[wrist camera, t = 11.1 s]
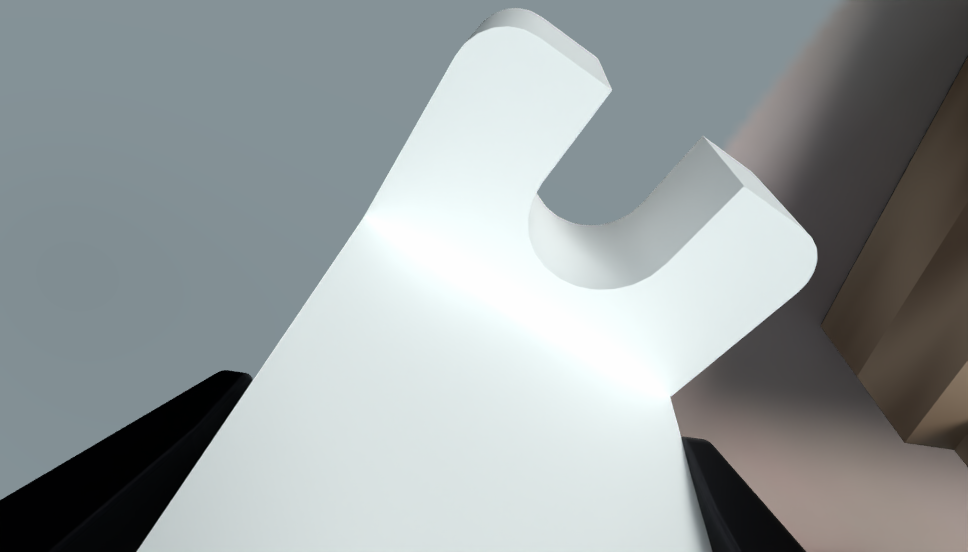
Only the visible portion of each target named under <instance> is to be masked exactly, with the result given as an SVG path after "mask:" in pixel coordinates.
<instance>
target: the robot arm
mask: <svg viewBox="0 0 968 552" xmlns="http://www.w3.org/2000/svg"><path fill="white" fill-rule="evenodd" d="M252 381H253V380H252V377H251V376H250V375H249V374H247V373H242V372H234V371H228V370H224V371H220V372H218V373H216V374H214V375H212V376H211V377H209V378H207V379H206V380H204V381H202V382H200V383H199V384H197V385H195V386H194V387H192V388H190V389H189V390H187V391H185V392H183V393H182V394H180V395H179V396H177V397H175V398H173V399H172V400H170V401H168V402H166V403H165V404H163V405H161V406H160V407H158V408H156V409H155V410H153V411H151V412H149V413H148V414H146V415H144V416H143V417H141V418H139V419H138V420H136V421H134V422H132V423H131V424H129V425H127V426H126V427H124V428H122V429H121V430H119V431H117V432H115V433H114V434H112V435H110V436H109V437H107V438H105V439H104V440H102V441H100V442H99V443H97V444H95V445H93V446H92V447H90V448H88V449H87V450H85V451H83V452H81V453H80V454H78V455H76V456H75V457H73V458H71V459H70V460H68V461H66V462H64V463H63V464H61V465H59V466H58V467H56V468H54V469H53V470H51V471H49V472H47V473H46V474H44V475H42V476H41V477H39V478H37V479H35V480H34V481H32V482H30V483H29V484H27V485H25V486H24V487H22V488H20V489H19V490H17V491H15V492H13V493H12V494H10V495H8V496H7V497H5V498H3V499H1V500H0V552H137V550H138V549H139V548H140V546H141V545H142V543H143V542H144V540H145V539H146V537H147V536H148V534H149V533H150V531H151V530H152V528H153V527H154V525H155V524H156V522H157V521H158V519H159V518H160V517H161V515H162V514H163V512H164V511H165V509H166V508H167V506H168V505H169V503H170V502H171V500H172V499H173V497H174V496H175V494H176V493H177V491H178V490H179V489H180V487H181V486H182V484H183V483H184V481H185V480H186V478H187V477H188V475H189V474H190V472H191V471H192V469H193V468H194V466H195V465H196V463H197V462H198V461H199V459H200V458H201V456H202V455H203V453H204V452H205V450H206V449H207V447H208V446H209V444H210V443H211V441H212V440H213V438H214V437H215V435H216V434H217V432H218V431H219V430H220V428H221V427H222V425H223V424H224V422H225V421H226V419H227V418H228V416H229V415H230V413H231V412H232V410H233V409H234V407H235V406H236V404H237V403H238V402H239V400H240V399H241V397H242V396H243V394H244V393H245V391H246V390H247V388H248V387H249V385H250V384H251V382H252ZM681 439H682V443H683V447H684V451H685V455H686V459H687V462H688V466H689V470H690V473H691V477H692V481H693V484H694V488H695V492H696V495H697V499H698V503H699V507H700V510H701V514H702V517H703V520H704V524H705V527H706V530H707V534H708V538H709V541H710V545H711V549H712V552H806V551H805V550H804V549H803V548H802V546H801V545H800V544H799V543H798V542H797V541H796V540H795V538H794V537H793V536H792V535H791V534H790V533H789V532H788V530H787V529H786V528H785V527H784V526H783V525H782V524H781V522H780V521H779V520H778V519H777V518H776V517H775V516H774V514H773V513H772V512H771V511H770V510H769V509H768V508H767V506H766V505H765V504H764V503H763V502H762V501H761V500H760V498H759V497H758V496H757V495H756V494H755V493H754V492H753V490H752V489H751V488H750V487H749V486H748V485H747V484H746V482H745V481H744V480H743V479H742V478H741V477H740V476H739V474H738V473H737V472H736V471H735V470H734V469H733V468H732V466H731V465H730V464H729V463H728V462H727V461H726V460H725V458H724V457H723V456H722V455H721V454H720V453H719V452H718V450H717V449H716V448H715V447H714V446H713V445H712V444H711V443H710V442H708V441H707V440H704V439H697V438H690V437H681Z"/></svg>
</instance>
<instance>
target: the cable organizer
mask: <svg viewBox="0 0 968 552" xmlns="http://www.w3.org/2000/svg"><path fill="white" fill-rule="evenodd" d="M611 91H612V89H611V86H610V84H609V82H608V80H607V78H606V75H605V73H604V71H603V69H602V66H601V64H600V62H599V60H598V58H597V57H595V56H594V55H593V54H591V53H590V52H588V51H587V50H586V49H584V48H583V47H582V46H580V45H579V44H578V43H576V42H575V41H574V40H572V39H571V38H570V37H568V36H567V35H566V34H564V33H563V32H561V31H560V30H559V29H557V28H556V27H555V26H553V25H552V24H550V23H549V22H548V21H547V20H545V19H543V18H542V17H541V16H539V15H537V14H536V13H534V12H532V11H530V10H525V9H520V8H513V9H504V10H502V11H499V12H496V13H494V14H492V15H491V16H490V17H488V18H487V19H486V20H485V21H483V23H482V24H481V25H480V26H479V27H478V28H477V29H476V31H475V32H474V33H473V34H472V35H471V37H470V38H469V39H468V40H467V41H466V42H465V44H464V45H463V46H462V48H461V49H460V50H459V52H458V53H457V54H456V56H455V57H454V59H453V61H452V62H451V64H450V66H449V68H448V69H447V71H446V73H445V75H444V77H443V78H442V80H441V82H440V84H439V86H438V87H437V89H436V91H435V92H434V94H433V96H432V98H431V99H430V101H429V103H428V105H427V106H426V108H425V110H424V112H423V114H422V115H421V117H420V119H419V120H418V122H417V124H416V126H415V128H414V129H413V131H412V133H411V135H410V136H409V138H408V140H407V142H406V143H405V145H404V147H403V149H402V151H401V152H400V154H399V156H398V157H397V159H396V161H395V163H394V165H393V166H392V168H391V170H390V172H389V174H388V175H387V177H386V179H385V180H384V182H383V184H382V186H381V187H380V189H379V191H378V193H377V194H376V196H375V198H374V200H373V201H372V203H371V205H370V207H369V209H368V210H367V212H366V214H365V216H364V217H363V219H362V220H361V222H360V223H359V225H358V226H357V227H356V229H355V231H354V232H353V233H352V235H351V236H350V238H349V239H348V241H347V242H346V244H345V245H344V247H343V248H342V250H341V251H340V253H339V254H338V256H337V257H336V258H335V260H334V261H333V263H332V265H331V266H330V267H329V269H328V270H327V272H326V273H325V275H324V276H323V278H322V279H321V281H320V282H319V284H318V285H317V286H316V288H315V289H314V291H313V292H312V294H311V295H310V297H309V298H308V300H307V301H306V303H305V304H304V306H303V307H302V309H301V310H300V312H299V313H298V315H297V316H296V318H295V319H294V321H293V322H292V323H291V325H290V326H289V328H288V329H287V331H286V332H285V334H284V335H283V337H282V338H281V340H280V341H279V343H278V344H277V345H276V347H275V348H274V350H273V352H272V353H271V354H270V356H269V357H268V359H267V360H266V362H265V363H264V365H263V366H262V368H261V369H260V371H259V372H258V374H257V375H256V376H255V378H254V379H253V381H252V382H251V384H250V385H249V387H248V388H247V390H246V391H245V393H244V394H243V396H242V397H241V399H240V400H239V402H238V403H237V404H236V406H235V407H234V409H233V410H232V412H231V413H230V415H229V416H228V418H227V419H226V421H225V422H224V424H223V425H222V427H221V428H220V430H219V431H218V432H217V434H216V435H215V437H214V438H213V440H212V441H211V443H210V444H209V446H208V447H207V449H206V450H205V452H204V453H203V455H202V456H201V458H200V459H199V461H198V462H197V463H196V465H195V466H194V468H193V469H192V471H191V472H190V474H189V475H188V477H187V478H186V480H185V481H184V483H183V484H182V486H181V487H180V489H179V490H178V491H177V493H176V494H175V496H174V497H173V499H172V500H171V502H170V503H169V505H168V506H167V508H166V509H165V511H164V512H163V514H162V515H161V517H160V518H159V519H158V521H157V522H156V524H155V525H154V527H153V528H152V530H151V531H150V533H149V534H148V536H147V537H146V539H145V540H144V542H143V543H142V545H141V546H140V548H139V549H138V550H137V552H712V549H711V545H710V541H709V538H708V534H707V530H706V527H705V524H704V520H703V517H702V514H701V510H700V507H699V503H698V499H697V495H696V492H695V488H694V484H693V481H692V477H691V473H690V470H689V466H688V462H687V459H686V455H685V451H684V447H683V443H682V439H681V435H680V431H679V428H678V424H677V420H676V417H675V413H674V409H673V406H672V402H671V398H670V397H671V396H672V395H673V394H675V393H676V392H677V391H678V390H680V389H681V388H682V387H683V386H684V385H686V384H687V383H688V382H689V381H691V380H692V379H693V378H694V377H695V376H697V375H698V374H699V373H700V372H702V371H703V370H704V369H705V368H706V367H708V366H709V365H710V364H711V363H712V362H714V361H715V360H716V359H717V358H719V357H720V356H721V355H722V354H723V353H725V352H726V351H727V350H728V349H730V348H731V347H732V346H733V345H734V344H736V343H737V342H738V341H739V340H741V339H742V338H743V337H744V336H745V335H747V334H748V333H749V332H750V331H751V330H753V329H754V328H755V327H756V326H758V325H759V324H760V323H761V322H762V321H764V320H765V319H766V318H767V317H769V316H770V315H771V314H772V313H773V312H775V311H776V310H777V309H778V308H780V307H781V306H782V305H783V304H784V303H786V302H787V301H788V300H789V299H790V298H792V297H793V296H794V295H795V294H797V293H798V292H799V291H800V290H801V289H802V288H803V287H804V286H805V285H806V284H807V283H808V281H809V279H810V278H811V276H812V274H813V273H814V271H815V267H816V263H817V248H816V245H815V243H814V241H813V239H812V237H811V236H810V235H809V234H808V233H807V232H806V231H805V229H804V228H803V227H802V226H801V225H800V224H799V223H798V222H797V221H796V220H795V218H794V217H793V216H792V215H791V214H790V213H789V212H788V211H787V210H786V209H785V207H784V206H783V205H782V204H781V203H780V202H779V201H778V200H777V199H776V198H775V196H774V195H773V194H772V193H771V192H770V191H769V190H768V189H767V188H766V186H765V185H764V184H763V183H762V182H761V181H760V180H759V179H758V178H757V177H756V176H755V175H754V174H753V173H752V172H751V171H750V170H749V169H747V168H746V167H745V166H743V165H742V164H741V163H739V162H738V161H736V160H735V159H734V158H732V157H731V156H730V155H728V154H727V153H726V152H724V151H723V150H722V149H720V148H719V147H717V146H716V145H715V144H713V143H712V142H711V141H709V140H708V139H707V138H705V137H704V136H702V137H701V138H700V140H699V141H698V142H697V143H696V144H695V145H694V146H693V147H692V148H691V150H690V151H689V152H688V153H687V154H686V155H685V156H684V157H683V158H682V160H681V161H680V162H679V163H678V164H677V165H676V166H675V167H674V168H673V170H672V171H671V172H670V173H669V174H668V175H667V176H666V177H665V178H664V180H663V181H662V182H661V183H660V184H659V185H658V187H656V189H655V190H654V191H653V192H652V193H651V194H650V195H649V196H648V197H647V199H646V200H645V201H644V202H643V203H642V204H641V205H640V206H638V207H637V208H636V209H635V210H634V211H633V212H632V213H630V214H628V215H626V216H625V217H623V218H621V219H619V220H617V221H614V222H610V223H606V224H603V225H581V224H576V223H571V222H569V221H567V220H564V219H562V218H560V217H558V216H556V215H555V214H554V213H553V212H552V211H550V210H549V209H548V208H547V207H546V206H545V205H544V203H543V202H542V200H541V199H540V198H539V196H538V194H537V191H538V189H539V188H540V186H541V184H542V182H543V181H544V180H545V178H546V177H547V176H548V174H549V173H550V172H551V170H552V169H553V168H554V166H555V165H556V164H557V163H558V161H559V160H560V159H561V157H562V156H563V154H564V153H565V152H566V151H567V149H568V148H569V146H570V145H571V144H572V143H573V141H574V140H575V139H576V137H577V136H578V135H579V133H580V132H581V131H582V129H583V128H584V127H585V126H586V124H587V123H588V122H589V120H590V119H591V118H592V116H593V115H594V114H595V112H596V111H597V109H598V108H599V107H600V106H601V104H602V103H603V102H604V100H605V99H606V98H607V96H608V95H609V94H610V92H611Z"/></svg>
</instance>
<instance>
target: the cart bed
mask: <svg viewBox="0 0 968 552" xmlns="http://www.w3.org/2000/svg"><path fill="white" fill-rule="evenodd" d="M821 328H822V329H823V330H824V332H825V333H826V335H827V336H828V337H829V339H830V340H831V341H832V343H833V344H834V346H835V347H836V348H837V350H838V351H839V353H840V354H841V355H842V357H843V358H844V359H845V361H846V362H847V364H848V365H849V366H850V368H851V369H852V371H853V372H854V373H855V375H856V376H857V377H858V379H859V380H860V382H861V383H862V384H863V386H864V387H865V389H866V390H867V391H868V393H869V394H870V395H871V397H872V398H873V400H874V401H875V402H876V404H877V405H878V407H879V408H880V409H881V411H882V412H883V413H884V415H885V416H886V418H887V419H888V420H889V422H890V423H891V425H892V426H893V427H894V429H895V430H896V431H897V433H898V434H899V436H900V437H901V438H902V440H903V441H904V442H905V443H910V444H917V445H924V446H931V447H938V448H945V449H952V450H955V452H956V453H957V454H958V455H959V457H960V458H961V459H962V460H963V462H964V463H965V464H966V465H967V467H968V57H967V59H966V61H965V63H964V65H963V66H962V68H961V70H960V72H959V74H958V75H957V77H956V79H955V81H954V83H953V85H952V86H951V88H950V90H949V92H948V94H947V96H946V97H945V99H944V101H943V103H942V105H941V107H940V108H939V110H938V112H937V114H936V116H935V118H934V119H933V121H932V123H931V125H930V127H929V129H928V130H927V132H926V134H925V136H924V138H923V139H922V141H921V143H920V145H919V147H918V149H917V150H916V152H915V154H914V156H913V158H912V160H911V161H910V163H909V165H908V167H907V169H906V171H905V172H904V174H903V176H902V178H901V180H900V182H899V183H898V185H897V187H896V189H895V191H894V192H893V194H892V196H891V198H890V200H889V202H888V203H887V205H886V207H885V209H884V211H883V213H882V214H881V216H880V218H879V220H878V222H877V224H876V225H875V227H874V229H873V231H872V233H871V235H870V236H869V238H868V240H867V242H866V244H865V245H864V247H863V249H862V251H861V253H860V255H859V256H858V258H857V260H856V262H855V264H854V266H853V267H852V269H851V271H850V273H849V275H848V277H847V278H846V280H845V282H844V284H843V286H842V288H841V289H840V291H839V293H838V295H837V297H836V299H835V300H834V302H833V304H832V306H831V308H830V309H829V311H828V313H827V315H826V317H825V319H824V320H823V322H822V324H821Z"/></svg>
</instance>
